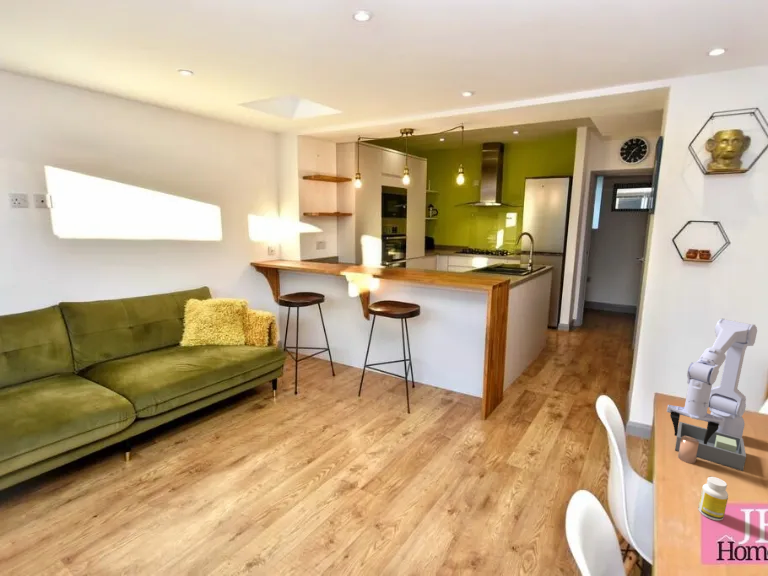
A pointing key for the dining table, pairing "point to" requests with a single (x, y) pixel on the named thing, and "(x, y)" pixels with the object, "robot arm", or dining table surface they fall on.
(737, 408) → the robot arm
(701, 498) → the supplement bottle
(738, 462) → the tote
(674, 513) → the dining table surface
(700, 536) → the dining table surface
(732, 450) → the green block
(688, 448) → the terracotta cylinder
